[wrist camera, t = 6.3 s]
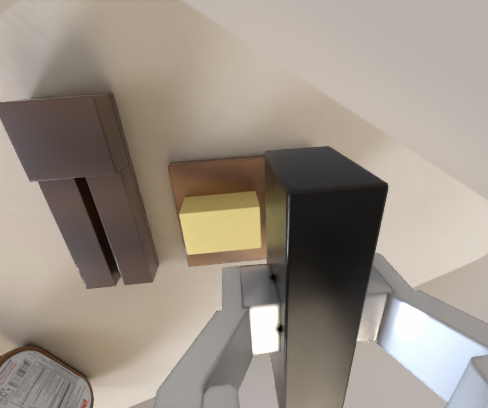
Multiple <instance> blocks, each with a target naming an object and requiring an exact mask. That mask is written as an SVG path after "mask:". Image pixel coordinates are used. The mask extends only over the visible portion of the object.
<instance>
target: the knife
mask: <svg viewBox="0 0 488 408" xmlns="http://www.w3.org/2000/svg"><path fill="white" fill-rule="evenodd" d="M264 163H265V205H266V247H267V264H271V266H272V270H273V277H274V281H275V282H276V285H277V289H278V293H279V297H280V301H281V325H280V331H281V351H277V352H270V356H271V362H272V367H273V373H274V379H275V391H276V396H277V402H278V408H343V405H344V400H345V395H346V390H347V386H348V381H349V376H350V370H351V366H352V361H353V356H354V352H355V347H356V342H357V337H358V332H359V328H360V323H361V318H362V313H363V308H364V303H365V299H366V294H367V289H368V284H369V279H370V274H371V270H372V265H373V260H374V255H375V250H376V245H377V241H378V236H379V231H380V226H381V221H382V216H383V212H384V207H385V202H386V197H387V192H388V184H387V183H386V182H384V181H383V180H381V179H380V178H378V177H377V176H375V175H373V174H372V173H370V172H369V171H367V170H366V169H364V168H363V167H361V166H359V165H358V164H356V163H355V162H353V161H352V160H350V159H348V158H347V157H345V156H344V155H342V154H341V153H339V152H337V151H336V150H334V149H333V148H331V147H329V146H325V147H312V148H299V149H286V150H273V151H266V152H265V154H264Z"/></svg>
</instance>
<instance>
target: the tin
mask: <svg viewBox="0 0 488 408" xmlns="http://www.w3.org/2000/svg"><path fill="white" fill-rule="evenodd" d="M93 402H94V397H93V391H92V387H91V385H90V383H89V381H88V380H87V379H86V378H85V377H84V376H83V375H82V374H80V373H79V372H77V371H76V370H74V369H72V368H71V367H69V366H68V365H66V364H65V363H63V362H61V361H60V360H58V359H57V358H55V357H54V356H52V355H51V354H49V353H47V352H46V351H44V350H43V349H41V348H38V347H34V346H25V347H20V348H17V349H14V350H12V351H9V352H8V353H6V354H4V355H2V356H0V408H93Z"/></svg>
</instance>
